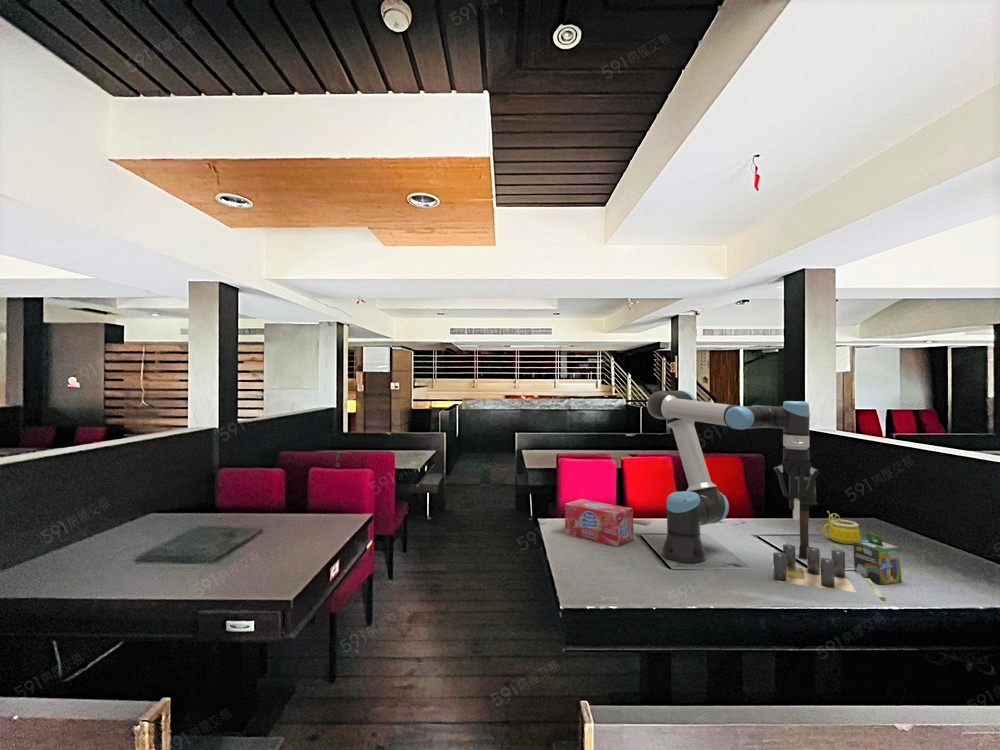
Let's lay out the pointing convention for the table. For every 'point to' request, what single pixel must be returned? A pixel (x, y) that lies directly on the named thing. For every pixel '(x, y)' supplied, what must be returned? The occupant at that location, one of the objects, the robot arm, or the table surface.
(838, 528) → the mug
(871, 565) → the chalk box
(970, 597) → the table surface
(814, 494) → the potato masher grenade
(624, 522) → the box
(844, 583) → the board
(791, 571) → the tan wooden tile
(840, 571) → the spacers
